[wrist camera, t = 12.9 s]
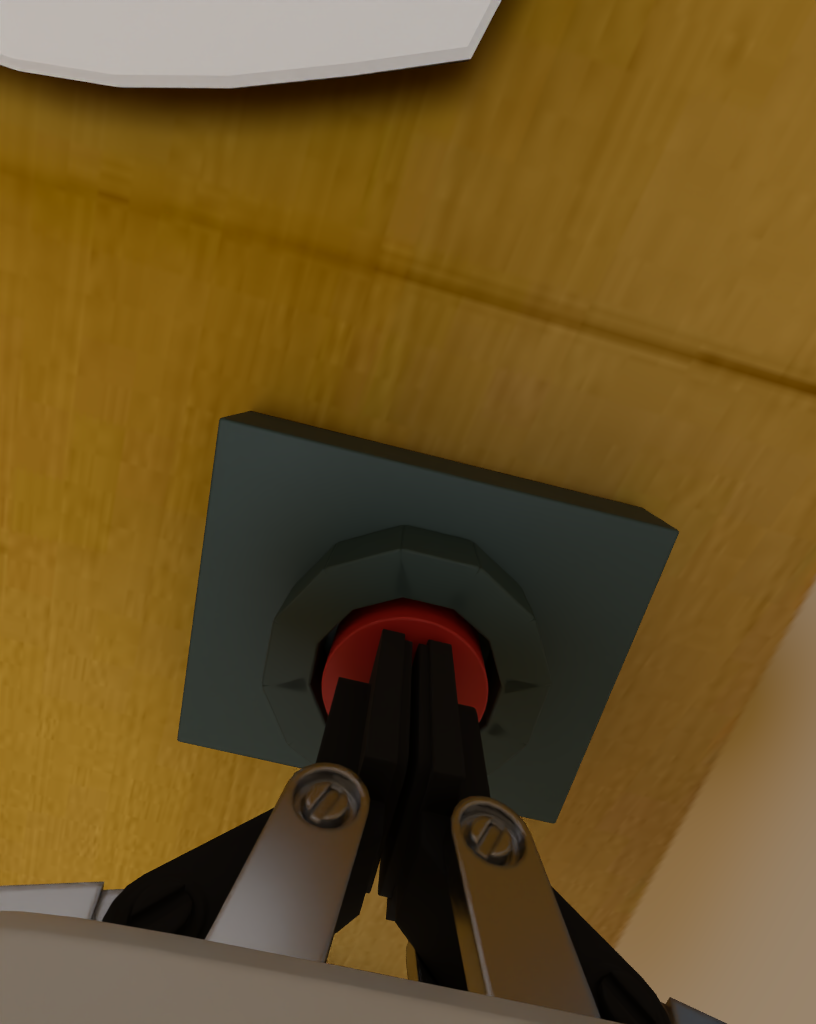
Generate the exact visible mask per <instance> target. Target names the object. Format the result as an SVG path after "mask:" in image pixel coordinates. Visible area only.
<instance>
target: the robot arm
mask: <svg viewBox="0 0 816 1024" xmlns="http://www.w3.org/2000/svg"><path fill="white" fill-rule="evenodd" d="M412 647H413V642H411V641H407V640H405V634H404V633H400V632H395V631H391V630H387V629H383V630H382V634H381V637H380V641H379V645H378V649H377V653H376V657H375V661H374V665H373V668H372V672H371V676H370V680H369V683H365V682H360V681H356V680H351V679H347V678H342V677H339V678H338V682H337V685H336V689H335V693H334V697H333V700H332V704H331V708H330V711H329V715H328V719H327V723H326V726H325V730H324V734H323V737H322V741H321V745H320V749H319V752H318V756H317V760H316V763H314V764H311V765H308V766H305V767H303V768H302V769H300V770H299V771H297V772H296V773H294V775H293V776H292V777H291V779H290V780H289V781H288V783H287V784H286V786H285V788H284V790H283V792H282V794H281V796H280V798H279V800H278V802H277V803H276V805H275V807H274V808H273V809H271V810H269V811H267V812H265V813H263V814H261V815H259V816H257V817H255V818H253V819H251V820H249V821H247V822H245V823H243V824H242V825H240V826H238V827H236V828H234V829H232V830H230V831H228V832H226V833H224V834H222V835H220V836H218V837H216V838H214V839H212V840H210V841H208V842H206V843H205V844H203V845H201V846H199V847H197V848H195V849H193V850H191V851H189V852H187V853H185V854H183V855H181V856H179V857H177V858H175V859H173V860H171V861H170V862H168V863H166V864H164V865H162V866H160V867H158V868H156V869H154V870H152V871H150V872H148V873H146V874H144V875H143V876H141V877H140V878H138V879H137V880H135V881H134V882H132V883H131V884H129V885H128V886H127V887H126V888H125V889H115V890H103V887H104V882H84V883H60V884H35V885H11V886H0V1024H726V1023H724V1022H722V1021H720V1020H718V1019H716V1018H714V1017H711V1016H709V1015H707V1014H705V1013H703V1012H701V1011H699V1010H696V1009H694V1008H692V1007H690V1006H688V1005H686V1004H684V1003H682V1002H679V1001H677V1000H675V999H673V998H671V997H670V998H669V1000H668V1001H667V1003H666V1004H664V1003H662V1002H660V1001H659V999H658V997H657V995H656V994H655V993H654V991H653V990H652V989H651V988H650V987H649V985H648V984H647V983H646V982H645V981H644V979H643V978H642V977H641V976H640V975H639V974H638V973H637V972H636V971H635V970H634V969H633V968H632V967H631V966H630V965H629V964H628V963H627V962H626V961H625V960H624V959H623V958H622V957H621V956H620V955H619V954H618V953H617V952H616V951H615V950H614V949H613V948H612V947H611V946H610V945H609V944H608V943H607V942H606V941H605V940H604V939H603V938H602V937H601V936H600V935H599V934H598V933H597V932H596V931H595V930H594V929H593V928H592V927H591V926H590V925H589V924H588V923H587V922H586V921H585V920H584V919H583V918H582V917H581V916H580V915H579V914H578V913H577V912H576V911H575V910H574V909H573V908H572V907H571V906H570V905H569V904H568V903H567V902H566V901H565V899H564V898H563V897H562V896H561V895H560V894H559V893H558V892H557V891H556V890H555V889H554V888H553V887H552V886H551V885H550V882H549V880H548V877H547V874H546V872H545V869H544V867H543V864H542V861H541V859H540V856H539V853H538V851H537V848H536V845H535V843H534V840H533V838H532V835H531V833H530V831H529V829H528V827H527V826H526V824H525V822H524V821H523V820H522V819H521V818H520V817H519V815H518V814H517V813H516V812H515V811H513V810H512V809H511V808H510V807H508V806H507V805H506V804H504V803H502V802H500V801H498V800H496V799H494V798H491V796H490V790H489V784H488V777H487V771H486V765H485V759H484V752H483V746H482V740H481V734H480V727H479V721H478V715H477V711H476V709H475V708H474V707H471V706H466V705H462V704H458V699H457V690H456V681H455V671H454V662H453V653H452V645H451V644H447V643H443V642H439V641H434V640H430V639H429V640H428V642H427V644H426V645H424V644H420V643H419V644H418V647H417V650H416V654H415V657H414V661H413V664H412ZM380 858H381V859H380ZM379 862H380V871H379V883H378V895H379V896H384V897H387V912H386V920H391V921H395V922H396V924H397V925H398V927H399V928H400V929H401V931H402V932H403V934H404V935H405V936H406V938H407V939H408V944H407V947H406V966H407V977H408V980H407V979H402V978H397V977H392V976H387V975H382V974H377V973H372V972H367V971H362V970H357V969H352V968H347V967H342V966H337V965H332V964H327V963H326V961H327V957H328V954H329V951H330V947H331V944H332V940H333V937H334V934H335V933H337V932H338V931H339V930H340V929H342V928H343V927H344V926H345V925H347V924H348V923H349V922H350V921H352V920H353V919H354V918H355V917H357V916H358V915H359V914H360V910H361V907H362V904H363V900H364V897H365V894H366V893H370V891H371V888H372V885H373V882H374V878H375V875H376V872H377V868H378V865H379Z"/></svg>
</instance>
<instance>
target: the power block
mask: <svg viewBox="0 0 816 1024" xmlns="http://www.w3.org/2000/svg"><path fill="white" fill-rule="evenodd" d="M678 534H679V531H678V530H677V529H675V528H674V527H672V526H670V525H669V524H667V523H666V522H664V521H662V520H661V519H659V518H658V517H656V516H654V515H653V514H651V513H650V512H648V511H646V510H645V509H643V508H641V507H637V506H633V505H628V504H624V503H620V502H616V501H612V500H608V499H604V498H600V497H596V496H592V495H588V494H584V493H580V492H576V491H572V490H568V489H564V488H560V487H556V486H552V485H548V484H544V483H540V482H536V481H532V480H527V479H523V478H519V477H515V476H511V475H507V474H503V473H499V472H495V471H491V470H487V469H483V468H479V467H475V466H471V465H467V464H463V463H459V462H455V461H451V460H447V459H443V458H439V457H435V456H431V455H426V454H422V453H418V452H414V451H410V450H406V449H402V448H398V447H394V446H390V445H386V444H382V443H378V442H374V441H370V440H366V439H362V438H358V437H354V436H350V435H346V434H342V433H338V432H334V431H330V430H325V429H321V428H317V427H313V426H309V425H305V424H301V423H297V422H293V421H289V420H285V419H281V418H277V417H273V416H269V415H265V414H261V413H257V412H253V411H248V412H244V413H240V414H236V415H231V416H227V417H223V418H220V420H219V427H218V434H217V442H216V450H215V457H214V465H213V472H212V480H211V488H210V495H209V503H208V510H207V518H206V526H205V533H204V541H203V549H202V556H201V564H200V571H199V579H198V587H197V594H196V602H195V609H194V617H193V625H192V632H191V640H190V647H189V655H188V663H187V670H186V678H185V685H184V693H183V701H182V708H181V716H180V723H179V731H178V739H177V740H178V741H180V742H184V743H189V744H193V745H198V746H202V747H207V748H212V749H216V750H221V751H225V752H230V753H234V754H239V755H243V756H248V757H253V758H257V759H262V760H266V761H271V762H275V763H280V764H284V765H289V766H294V767H298V768H303V767H305V766H308V765H311V764H314V763H316V760H317V756H318V752H319V749H320V745H321V741H322V737H323V734H324V730H325V726H326V723H327V719H328V713H327V711H326V708H325V705H324V702H323V697H322V676H323V671H324V668H325V664H326V661H327V658H328V655H329V652H330V649H331V646H332V643H333V640H334V637H335V634H336V631H337V628H338V626H339V624H340V622H341V621H342V620H343V619H344V618H345V617H346V616H347V615H348V614H350V613H351V612H352V611H353V610H355V609H359V608H363V607H367V606H371V605H375V604H379V603H383V602H386V601H390V600H394V599H398V598H402V597H404V598H408V599H412V600H416V601H421V602H425V603H429V604H433V605H438V606H442V607H446V608H450V609H454V610H455V611H456V612H457V613H458V614H459V615H460V616H462V617H463V618H464V619H465V620H466V621H467V622H468V623H469V624H470V625H472V626H473V627H474V628H475V629H476V631H477V634H478V636H479V641H480V646H481V651H482V655H483V660H484V665H485V670H486V675H487V679H488V701H487V705H486V708H485V711H484V714H483V716H482V718H481V720H480V722H479V727H480V734H481V740H482V746H483V752H484V759H485V765H486V771H487V777H488V784H489V790H490V796H491V798H494V799H496V800H498V801H500V802H502V803H504V804H506V805H507V806H508V807H510V808H511V809H512V810H513V811H515V812H516V813H517V814H518V815H519V816H521V817H526V818H531V819H535V820H540V821H544V822H549V823H556V820H557V818H558V816H559V813H560V811H561V809H562V806H563V804H564V802H565V799H566V797H567V794H568V792H569V790H570V787H571V785H572V783H573V780H574V778H575V776H576V773H577V771H578V769H579V766H580V764H581V762H582V759H583V757H584V755H585V752H586V750H587V747H588V745H589V743H590V740H591V738H592V736H593V733H594V731H595V729H596V726H597V724H598V722H599V719H600V717H601V715H602V712H603V710H604V708H605V705H606V703H607V701H608V698H609V696H610V693H611V691H612V689H613V686H614V684H615V682H616V679H617V677H618V675H619V672H620V670H621V668H622V665H623V663H624V661H625V658H626V656H627V654H628V651H629V649H630V646H631V644H632V642H633V639H634V637H635V635H636V632H637V630H638V628H639V625H640V623H641V621H642V618H643V616H644V614H645V611H646V609H647V607H648V604H649V602H650V599H651V597H652V595H653V592H654V590H655V588H656V585H657V583H658V581H659V578H660V576H661V574H662V571H663V569H664V567H665V564H666V562H667V560H668V557H669V555H670V553H671V550H672V548H673V545H674V543H675V541H676V538H677V536H678Z"/></svg>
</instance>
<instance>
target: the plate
mask: <svg viewBox="0 0 816 1024" xmlns="http://www.w3.org/2000/svg"><path fill="white" fill-rule="evenodd" d="M500 2H501V0H0V65H2V66H5V67H8V68H11V69H14V70H17V71H22V72H28V73H34V74H40V75H47V76H53V77H59V78H65V79H71V80H77V81H83V82H90V83H96V84H102V85H108V86H114V87H121V88H189V89H238V88H248V87H258V86H268V85H278V84H287V83H297V82H307V81H317V80H326V79H336V78H346V77H355V76H362V75H369V74H377V73H384V72H391V71H398V70H406V69H413V68H420V67H427V66H435V65H442V64H449V63H456V62H464V61H468V60H469V59H471V58H472V56H473V54H474V52H475V50H476V48H477V46H478V44H479V42H480V40H481V38H482V36H483V35H484V33H485V31H486V29H487V27H488V25H489V23H490V21H491V19H492V17H493V15H494V13H495V12H496V10H497V8H498V6H499V4H500Z"/></svg>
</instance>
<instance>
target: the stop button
mask: <svg viewBox="0 0 816 1024" xmlns="http://www.w3.org/2000/svg"><path fill="white" fill-rule="evenodd" d="M383 629H387V630H391V631H395V632H400V633H404V634H405V640H407V641H411V642H413V647H412V664H413V661H414V657H415V654H416V650H417V647H418V644H419V643H420V644H424V645H426V644H427V642H428V640H429V639H430V640H434V641H439V642H443V643H447V644H451V645H452V653H453V662H454V671H455V681H456V690H457V699H458V704H462V705H466V706H471V707H474V708H475V709H476V711H477V715H478V721H479V722H480V720H481V718H482V716H483V714H484V711H485V708H486V705H487V701H488V679H487V675H486V670H485V665H484V660H483V655H482V651H481V646H480V641H479V636H478V634H477V631H476V629H475V628H474V627H473V626H472V625H470V624H469V623H468V622H467V621H466V620H465V619H464V618H463V617H462V616H460V615H459V614H458V613H457V612H456V611H455V610H454V609H450V608H446V607H442V606H438V605H433V604H429V603H425V602H421V601H416V600H412V599H408V598H404V597H402V598H398V599H394V600H390V601H386V602H383V603H379V604H375V605H371V606H367V607H363V608H359V609H355V610H353V611H352V612H351V613H350V614H348V615H347V616H346V617H345V618H344V619H343V620H342V621H341V622H340V624H339V626H338V628H337V631H336V634H335V637H334V640H333V643H332V646H331V649H330V652H329V655H328V658H327V661H326V664H325V668H324V671H323V676H322V697H323V702H324V705H325V708H326V711H327V713H328V715H329V711H330V708H331V704H332V700H333V697H334V693H335V689H336V685H337V682H338V678H339V677H342V678H347V679H351V680H356V681H360V682H365V683H369V680H370V676H371V672H372V668H373V665H374V661H375V657H376V653H377V649H378V645H379V641H380V637H381V634H382V630H383Z"/></svg>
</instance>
